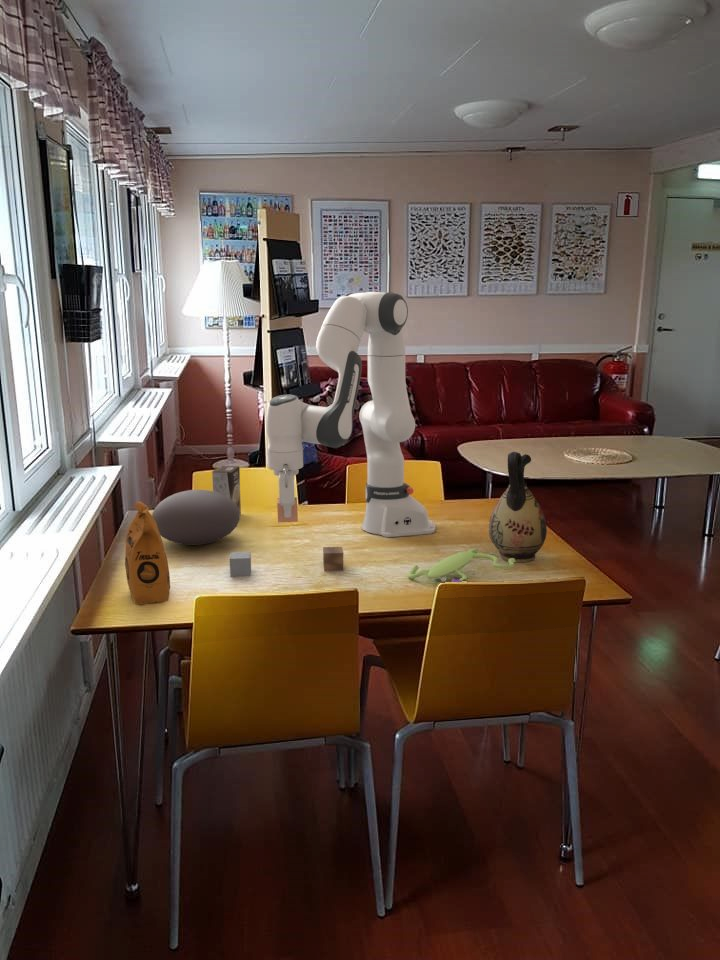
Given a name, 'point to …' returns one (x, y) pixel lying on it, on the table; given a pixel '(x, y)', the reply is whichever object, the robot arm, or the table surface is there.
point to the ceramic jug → (517, 516)
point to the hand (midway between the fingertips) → (287, 513)
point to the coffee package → (146, 559)
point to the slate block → (240, 564)
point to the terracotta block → (293, 512)
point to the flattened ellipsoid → (196, 517)
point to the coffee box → (228, 483)
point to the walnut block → (333, 558)
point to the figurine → (456, 566)
